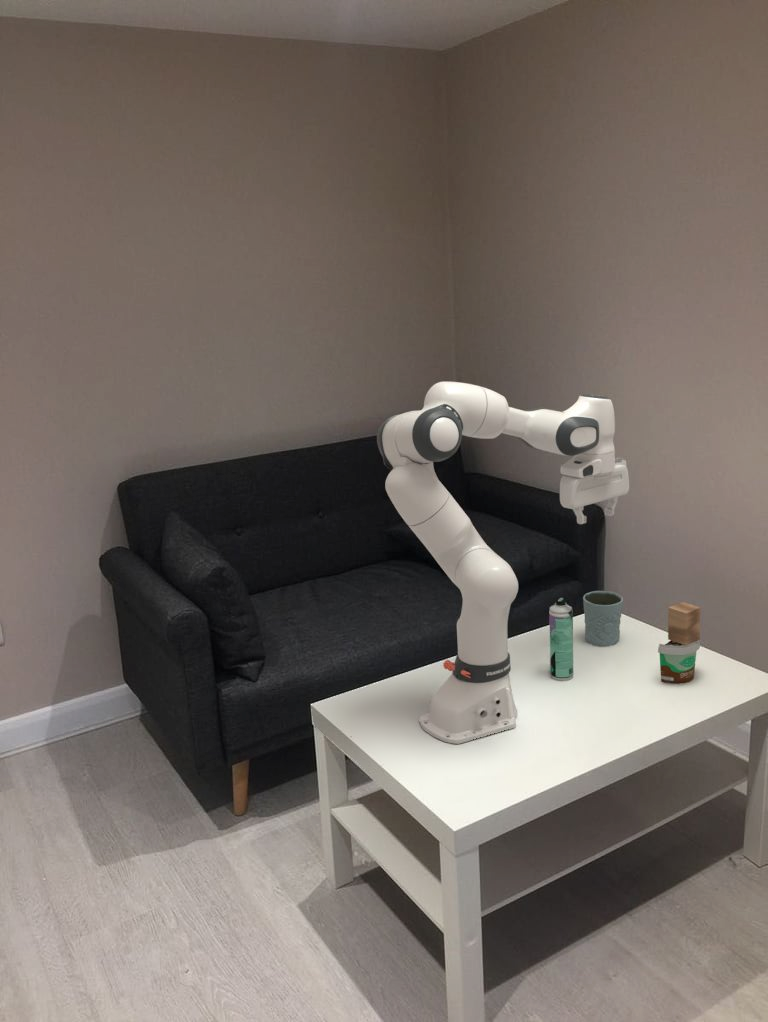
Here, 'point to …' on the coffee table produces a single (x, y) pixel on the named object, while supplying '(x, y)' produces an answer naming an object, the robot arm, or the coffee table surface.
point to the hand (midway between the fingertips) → (595, 519)
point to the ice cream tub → (677, 662)
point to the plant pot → (602, 617)
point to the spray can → (561, 641)
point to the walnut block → (684, 623)
